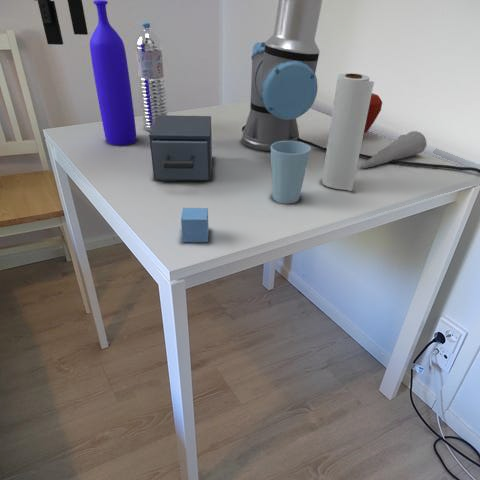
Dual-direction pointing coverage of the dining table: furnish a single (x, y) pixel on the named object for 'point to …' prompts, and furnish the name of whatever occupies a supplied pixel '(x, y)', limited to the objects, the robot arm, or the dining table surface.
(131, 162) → the dining table surface
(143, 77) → the water bottle
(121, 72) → the bottle
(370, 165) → the long tapered cone
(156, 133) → the cabinet
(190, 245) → the dining table surface
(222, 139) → the dining table surface
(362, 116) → the paper towel roll
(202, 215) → the steel blue cube
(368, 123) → the apple
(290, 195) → the cup
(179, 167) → the drawer
